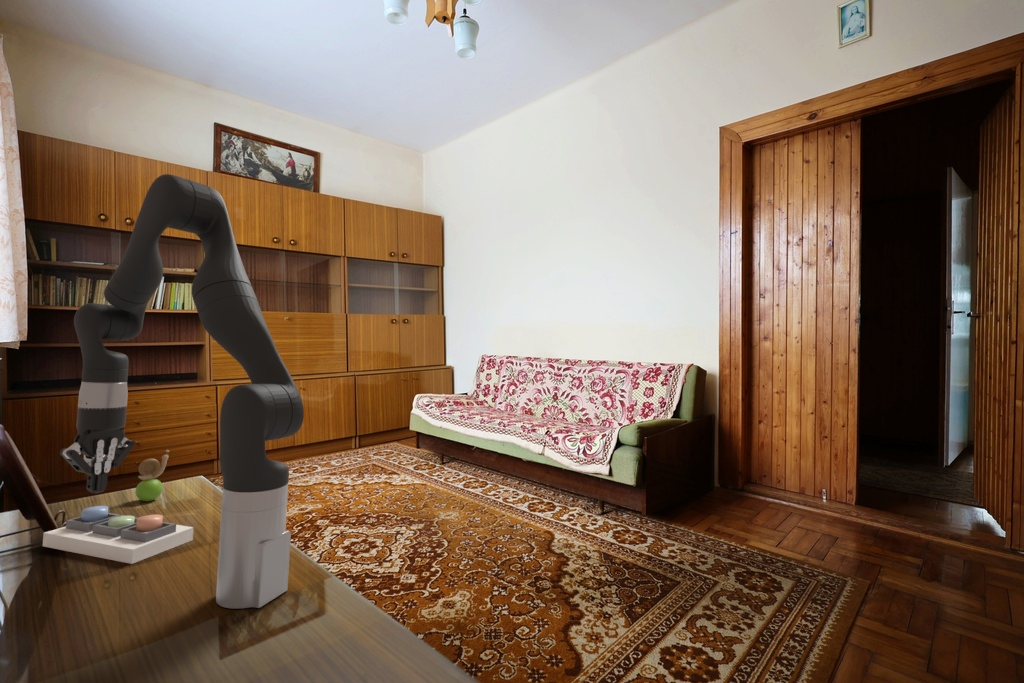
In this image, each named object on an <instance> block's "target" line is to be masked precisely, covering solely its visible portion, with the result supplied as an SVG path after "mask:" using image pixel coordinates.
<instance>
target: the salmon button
mask: <svg viewBox="0 0 1024 683" xmlns="http://www.w3.org/2000/svg"><path fill="white" fill-rule="evenodd" d="M137 518H138V519H137V523H136V531H139V532H151V531H154V530H157V529H159V528H162V522H164V521H163V520H164V516H163V515H162V514H148V515H142V516H140V517H137Z"/></svg>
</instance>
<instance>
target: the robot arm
mask: <svg viewBox="0 0 1024 683" xmlns="http://www.w3.org/2000/svg"><path fill="white" fill-rule="evenodd" d="M228 211H229V210H228V209H227V205H226V202H225V200H224V198H223V196H222V195H221V193H220V192H219V191H218V190H217V189H215V188H213V187H211V186H209V185H206V184H203V183H200V182H197V181H194V180H191V179H188V178H185V177H181V176H178V175H174V174H170V173H165V174H162V175H160V176H158V177H157V178H155V179H154V181H152V183H151V185H150V186H149V188H148V190H147V192H146V194H145V196H144V199H143V202H142V205H141V207H140V211H139V212H138V215H137V218H136V221H135V224H134V227H133V230H132V232H131V235H130V238H129V242H128V244H127V248H126V249H125V253H124V255H123V257H122V259H121V261H120V263H119V264H118V266H117V268H116V269H115V271H114V272H113V274H112V276H111V277H110V279H109V280H108V283H106V285H105V287H104V290H103V297H104V299H105V300H106V302H107V303H108V304H106V303H105V304H103V303H95V302H94V303H93V302H89V303H85V304H83V305H81V306H80V307H79V308H78V309H77V310H76V312H75V314H74V317H73V326H74V330H75V333H76V336H77V340H78V342H79V348H80V351H81V357H82V372H81V384H80V388H79V393H78V399H77V400H78V402H77V412H76V413H77V415H76V416H77V417H76V426H75V427H76V430H77V434H76V436H75V437H74V440H73V442H74V443H72V444H71V445H70V446H69V447H67V448H62V449H60V451H59V454H60V456H61V457H63V459H64V460H65V461H66V462H67V463H68V464H69V465H70V466H71V468H72V469H74V470H75V471H76V472H78V473H85V474H86V486H85V487H86V490H87V491H88V492H89V493H91V494H98V493H102V492H104V491H105V490H106V489H107V486H108V475H109V472H110V471H111V470H112V469H114V468H118V467H120V465H122V463H123V461H124V460H125V459H126V457H127V456H128V455H129V453H130V452H131V451H132V450H133V448H134V447H135V446H136V441H135V440H130V439H129V438H127V437H126V433H125V431H124V428H125V427H126V424H127V422H126V421H127V411H128V410H127V409H128V399H129V397H128V395H129V392H128V390H129V389H128V378H129V357H128V356H127V354H124V353H122V352H117V351H114V350H113V351H112V350H108V349H107V348H106V347H105V345H104V343H103V340H104V341H105V340H106V341H130V340H132V339H134V338H135V339H136V338H137V337H138V336H139V335H140V334H141V332H142V330H143V326H144V320H145V319H144V318H145V313H146V310H147V307H148V303H149V302H150V300H151V299H152V297H153V296H154V294H155V293H156V291H157V290H158V288H159V287H160V285H161V283H162V280H163V277H164V266H163V262H162V257H161V253H160V248H159V240H160V238H161V236H162V234H163V233H164V231H166V229H172V230H177V231H181V232H182V231H183V232H187V233H190V234H194V235H195V236H197V238H199V240H200V241H201V245H202V248H203V253H204V258H203V261H202V262H201V264H200V266H199V268H198V270H197V272H196V273H195V276H194V278H193V280H192V284H191V297H192V301H193V303H194V306H195V309H196V311H197V313H198V317H199V320H200V323H201V325H202V327H203V328H204V330H205V332H206V333H207V334H209V336H210V337H211V338H212V339H213V340H214V341H215V342H216V343H217V344H218V345H219V346H220V347H221V348H222V349H224V350H225V351H226V352H227V353H228V354H229V355H230V356H232V358H234V359H235V360H236V361H237V363H239V365H240V366H241V367H242V369H244V371H245V373H246V375H247V376H248V378H249V380H250V382H251V383H246V384H244V383H243V384H238V385H236V386H233V387H232V388H231V389H230V390H229V391H227V393H226V395H225V396H224V399H223V401H222V404H221V409H220V415H219V416H220V417H219V418H220V419H219V464H220V466H219V467H220V469H221V470H220V471H221V473H222V478H223V479H222V480H223V481H222V496H221V498H222V499H221V512H220V525H219V526H220V527H219V543H218V544H219V545H218V557H217V558H218V560H217V575H216V576H217V577H216V590H215V602H216V605H219V607H222V608H224V609H225V608H227V609H233V610H236V609H249V608H255V609H256V608H257V609H260V608H262V607H263V606H265V605H266V604H268V603H269V602H271V601H273V600H274V599H276V598H278V597H279V596H280V595H282V594H284V593H285V592H287V591H288V586H289V571H290V554H291V553H290V552H291V535H292V533H291V531H290V530H288V529H286V525H287V511H288V510H287V509H288V494H289V492H288V491H289V477H290V476H289V474H290V468H289V467H288V466H289V465H287V464H286V463H285V462H282V461H278V460H274V459H273V460H272V459H270V458H268V457H267V453H266V452H267V451H266V442H267V441H273V440H274V441H275V440H279V439H283V438H284V439H285V438H289V437H292V436H294V435H296V434H297V433H298V432H299V431H300V429H301V428H302V425H303V423H304V419H305V407H304V403H303V400H302V399H303V398H302V397H301V394H300V392H299V389H298V387H297V384H296V383H295V381H294V379H293V377H292V375H291V373H290V371H289V369H288V368H287V366H286V364H285V362H284V361H283V358H282V356H281V355H280V352H279V351H278V349H277V346H276V343H275V342H274V339H273V337H272V335H271V332H270V330H269V327H268V325H267V323H266V320H265V317H264V315H263V313H262V312H263V311H262V309H261V306H260V303H259V301H258V298H257V295H256V293H255V290H254V289H253V286H252V283H251V280H250V279H249V277H248V273H247V271H246V269H245V266H244V264H243V260H242V258H241V255H240V251H239V250H238V246H237V242H236V239H235V234H234V232H233V231H234V230H233V227H232V224H231V218H230V216H229V212H228ZM82 454H83V457H82V456H81V455H82Z"/></svg>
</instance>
